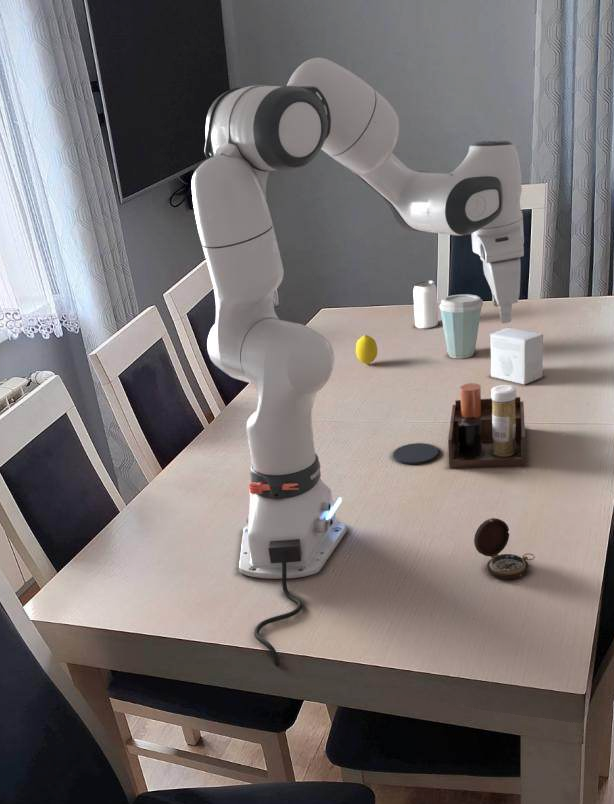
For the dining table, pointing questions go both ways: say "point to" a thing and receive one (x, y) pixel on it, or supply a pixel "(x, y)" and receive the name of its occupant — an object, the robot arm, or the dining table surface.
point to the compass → (499, 550)
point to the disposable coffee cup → (461, 323)
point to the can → (425, 304)
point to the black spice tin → (470, 437)
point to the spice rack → (486, 436)
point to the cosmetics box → (516, 355)
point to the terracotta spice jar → (470, 400)
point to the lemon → (366, 349)
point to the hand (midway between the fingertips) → (501, 313)
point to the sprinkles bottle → (503, 420)
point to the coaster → (415, 453)
